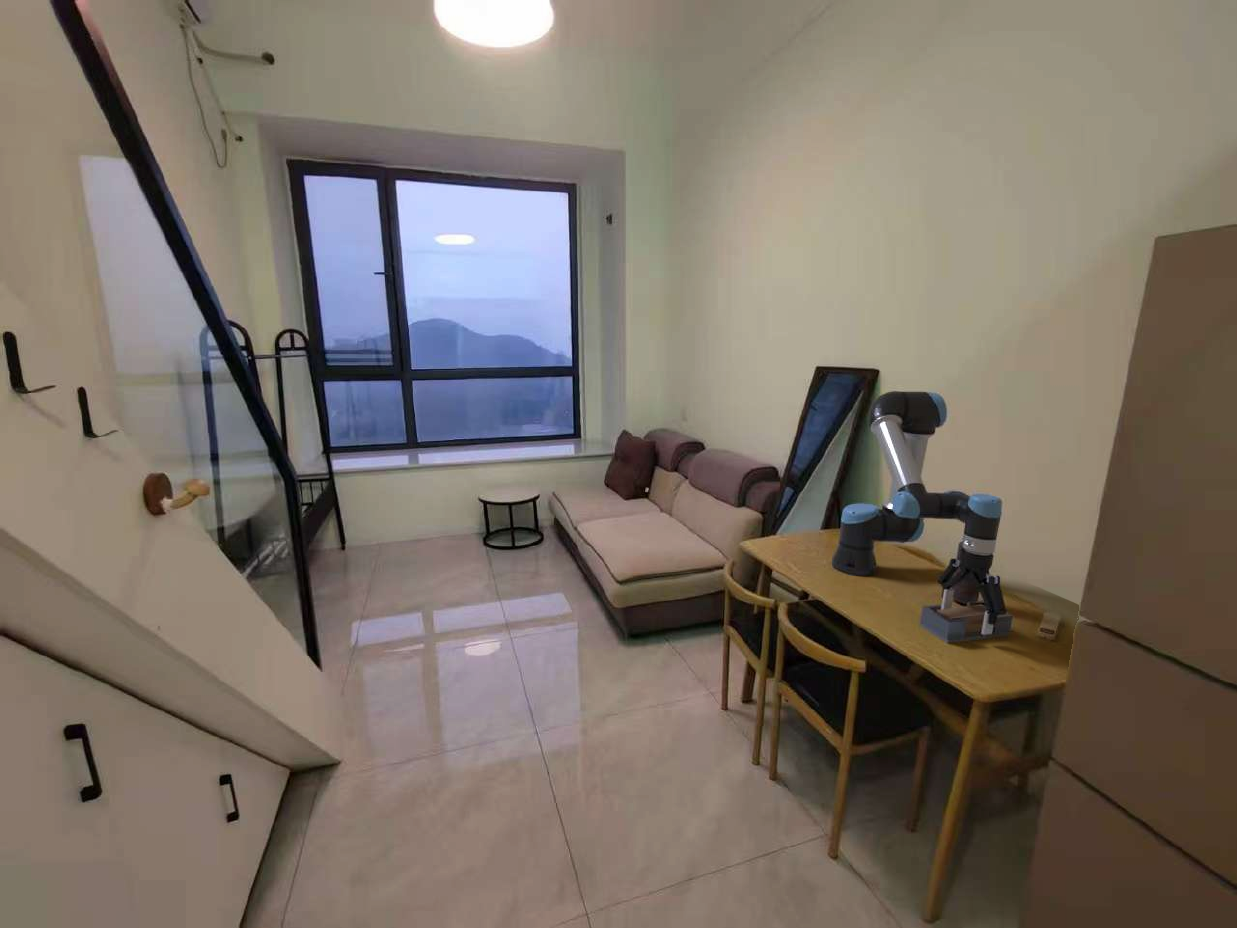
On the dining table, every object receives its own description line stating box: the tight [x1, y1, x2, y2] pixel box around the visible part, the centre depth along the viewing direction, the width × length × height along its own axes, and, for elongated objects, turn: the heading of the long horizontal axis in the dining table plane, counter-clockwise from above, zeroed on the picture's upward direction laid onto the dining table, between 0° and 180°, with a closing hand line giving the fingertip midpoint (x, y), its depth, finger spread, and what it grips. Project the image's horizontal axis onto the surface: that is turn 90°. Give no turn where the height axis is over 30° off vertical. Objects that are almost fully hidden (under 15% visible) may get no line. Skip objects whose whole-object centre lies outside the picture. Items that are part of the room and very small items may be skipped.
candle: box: [951, 541, 980, 605], centre depth 166 cm, size 8×7×20 cm
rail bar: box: [936, 604, 988, 633], centre depth 150 cm, size 5×16×5 cm, turn 105°
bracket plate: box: [918, 599, 1014, 644], centre depth 150 cm, size 10×21×6 cm, turn 103°
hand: (965, 621), depth 150 cm, fingers open, 13 cm apart
